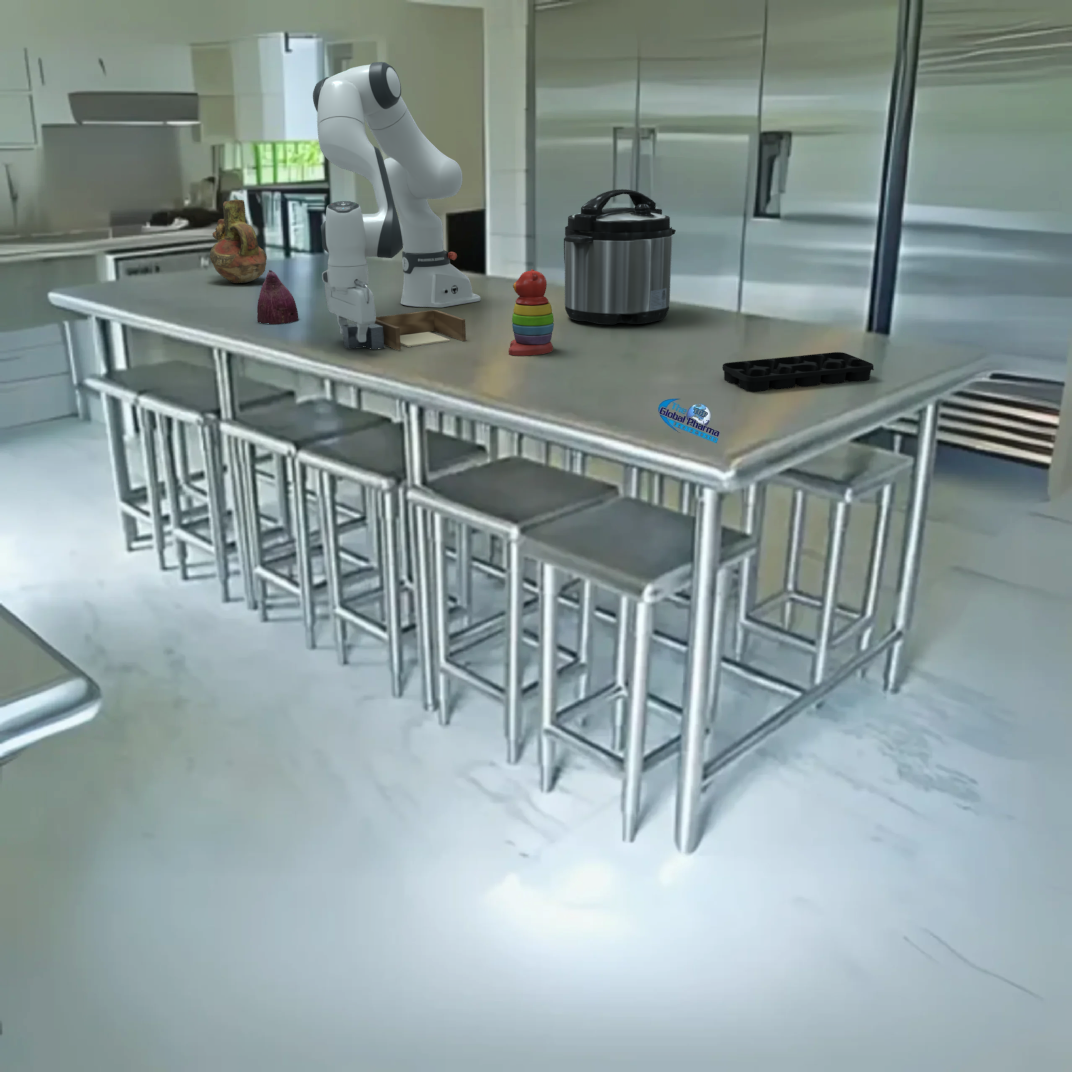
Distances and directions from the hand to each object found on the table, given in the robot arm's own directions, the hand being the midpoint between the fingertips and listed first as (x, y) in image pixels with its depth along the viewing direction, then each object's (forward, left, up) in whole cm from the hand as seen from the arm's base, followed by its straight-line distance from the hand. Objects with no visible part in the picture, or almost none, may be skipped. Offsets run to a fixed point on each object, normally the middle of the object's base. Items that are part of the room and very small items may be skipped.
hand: (353, 338), depth 248 cm
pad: (-16, +2, -2) cm, 16 cm away
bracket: (-2, +2, -2) cm, 3 cm away
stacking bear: (-32, +27, -2) cm, 42 cm away
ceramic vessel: (-9, -109, -2) cm, 109 cm away
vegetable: (+3, -41, -2) cm, 41 cm away
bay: (-16, +2, -2) cm, 16 cm away
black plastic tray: (-61, +80, -3) cm, 101 cm away
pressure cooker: (-70, +7, -2) cm, 70 cm away
